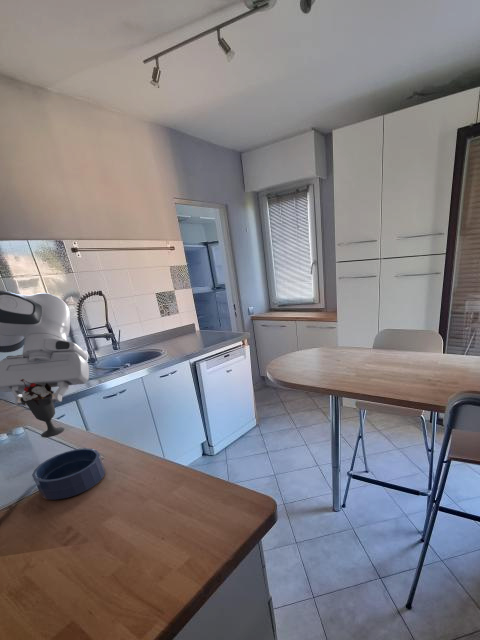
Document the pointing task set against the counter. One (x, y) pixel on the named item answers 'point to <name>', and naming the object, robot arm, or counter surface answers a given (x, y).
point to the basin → (69, 473)
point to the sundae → (41, 406)
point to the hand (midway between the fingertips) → (38, 403)
